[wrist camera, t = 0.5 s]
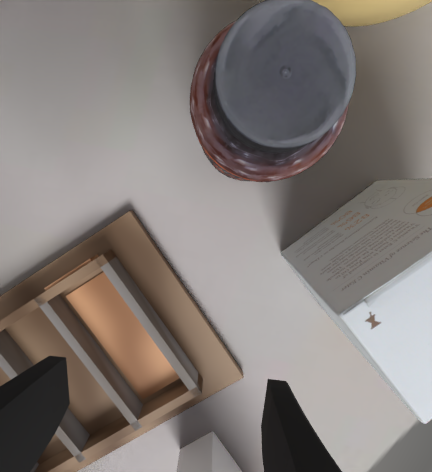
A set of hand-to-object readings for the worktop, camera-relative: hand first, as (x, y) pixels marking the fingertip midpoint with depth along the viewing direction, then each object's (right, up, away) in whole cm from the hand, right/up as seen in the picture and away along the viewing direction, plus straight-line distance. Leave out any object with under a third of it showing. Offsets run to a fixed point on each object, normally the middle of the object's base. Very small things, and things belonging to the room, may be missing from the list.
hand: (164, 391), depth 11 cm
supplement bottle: (+4, +12, +9) cm, 15 cm away
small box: (+11, +5, +10) cm, 16 cm away
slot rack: (-8, -4, +12) cm, 15 cm away
